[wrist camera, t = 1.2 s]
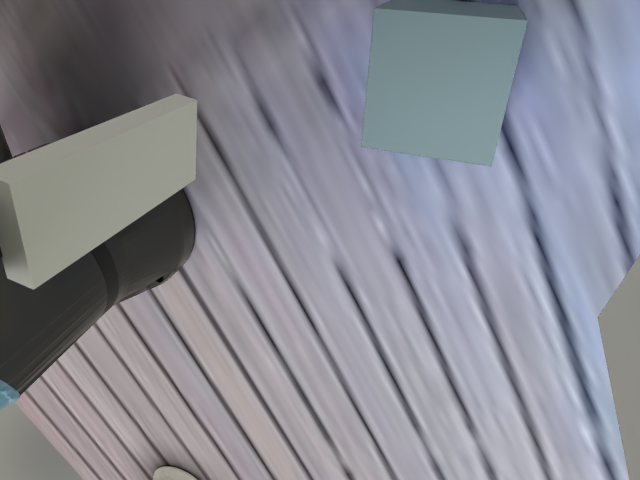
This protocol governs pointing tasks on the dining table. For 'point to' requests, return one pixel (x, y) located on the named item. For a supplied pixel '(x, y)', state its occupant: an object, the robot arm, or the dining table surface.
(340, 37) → the dining table surface
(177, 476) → the jar
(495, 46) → the slate block
